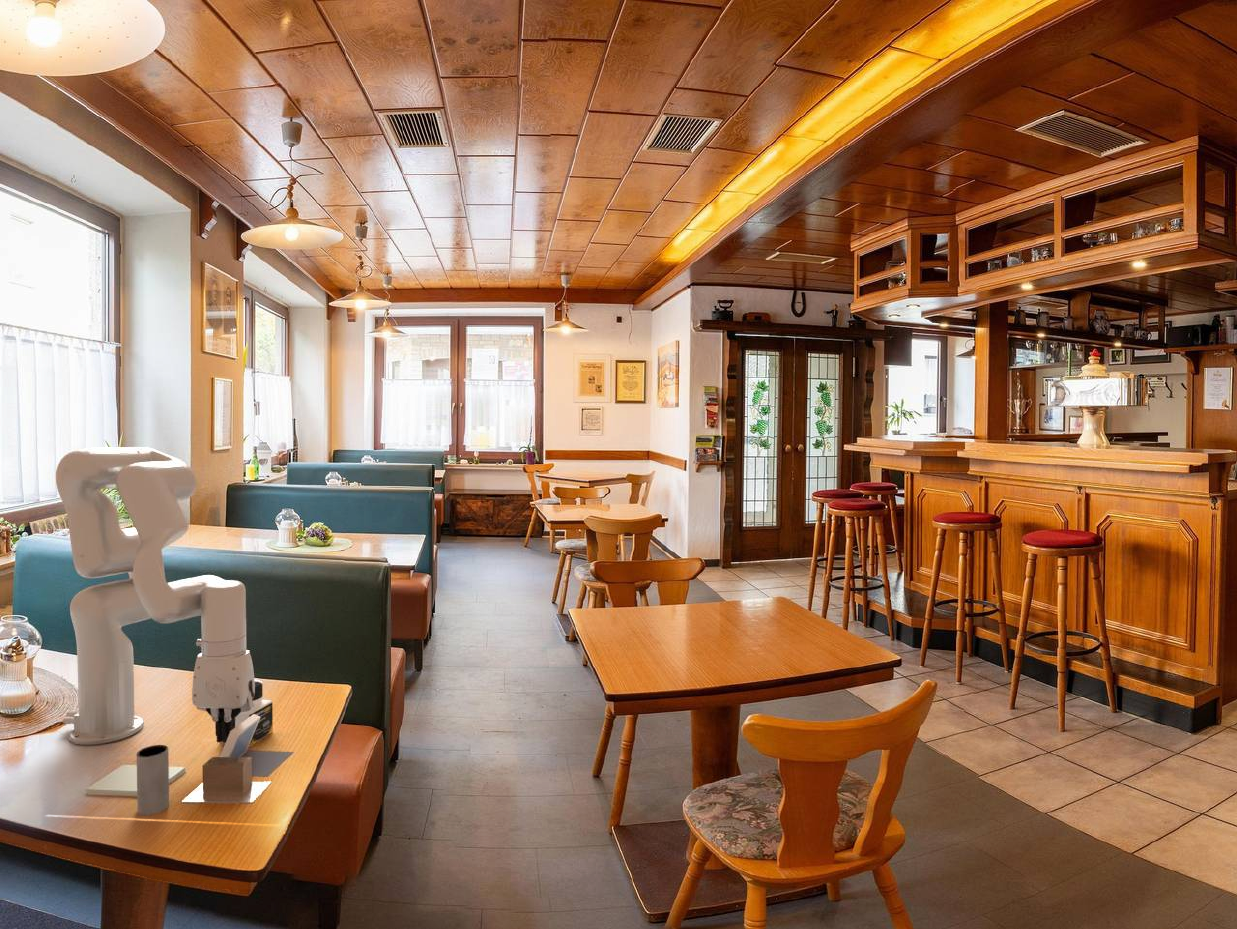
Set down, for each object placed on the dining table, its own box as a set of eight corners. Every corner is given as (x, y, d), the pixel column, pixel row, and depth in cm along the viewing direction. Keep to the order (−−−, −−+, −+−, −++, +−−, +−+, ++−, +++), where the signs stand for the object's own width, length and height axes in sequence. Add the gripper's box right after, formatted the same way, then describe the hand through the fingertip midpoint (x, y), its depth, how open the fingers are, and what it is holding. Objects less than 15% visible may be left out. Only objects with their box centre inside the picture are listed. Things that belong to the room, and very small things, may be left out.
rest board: (85, 795, 126) (85, 789, 126) (123, 771, 135) (123, 764, 135) (152, 798, 125) (152, 791, 125) (185, 773, 134) (185, 767, 134)
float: (182, 806, 124) (181, 770, 123) (204, 785, 131) (203, 752, 130) (252, 806, 124) (252, 771, 124) (270, 786, 131) (270, 752, 131)
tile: (214, 768, 135) (230, 731, 134) (238, 749, 143) (253, 713, 142) (222, 772, 135) (238, 734, 134) (246, 752, 143) (261, 717, 142)
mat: (204, 775, 134) (204, 774, 134) (235, 751, 144) (235, 749, 144) (267, 778, 133) (267, 776, 133) (293, 753, 143) (293, 752, 143)
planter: (147, 802, 124) (146, 744, 123) (174, 802, 124) (173, 744, 124) (131, 817, 119) (130, 757, 119) (160, 816, 120) (159, 756, 119)
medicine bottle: (249, 747, 146) (249, 689, 145) (219, 743, 147) (218, 686, 146) (273, 732, 153) (273, 677, 152) (244, 729, 154) (243, 674, 153)
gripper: (173, 651, 134) (175, 746, 135) (251, 653, 133) (252, 749, 134) (198, 639, 141) (200, 730, 142) (272, 641, 141) (273, 732, 142)
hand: (225, 739), depth 138 cm, fingers closed
